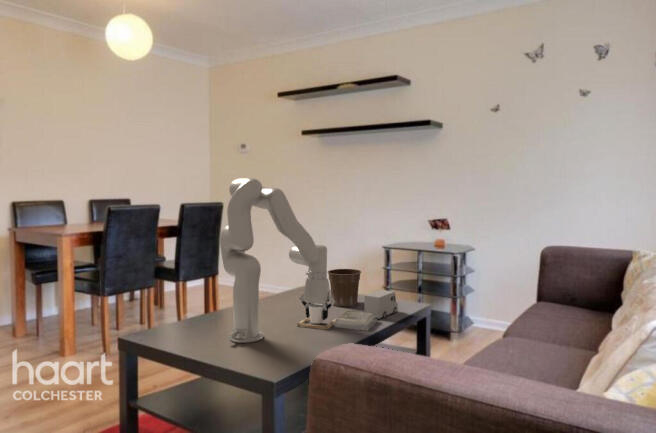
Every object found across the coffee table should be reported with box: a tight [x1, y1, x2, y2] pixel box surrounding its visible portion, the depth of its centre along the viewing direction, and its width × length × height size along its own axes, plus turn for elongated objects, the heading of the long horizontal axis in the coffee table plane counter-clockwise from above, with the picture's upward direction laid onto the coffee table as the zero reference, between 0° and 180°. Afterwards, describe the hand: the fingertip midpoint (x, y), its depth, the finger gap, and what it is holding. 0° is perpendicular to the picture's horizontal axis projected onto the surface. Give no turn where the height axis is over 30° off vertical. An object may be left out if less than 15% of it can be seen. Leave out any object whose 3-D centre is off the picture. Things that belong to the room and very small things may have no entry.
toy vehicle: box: [363, 289, 399, 320], centre depth 214 cm, size 9×18×10 cm, turn 144°
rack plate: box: [334, 310, 378, 332], centre depth 200 cm, size 14×14×4 cm
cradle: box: [296, 317, 338, 331], centre depth 200 cm, size 12×13×1 cm
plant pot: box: [327, 268, 362, 308], centre depth 233 cm, size 16×16×16 cm
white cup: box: [309, 303, 325, 324], centre depth 200 cm, size 7×7×7 cm
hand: (316, 317), depth 200 cm, fingers closed on white cup, 6 cm apart
